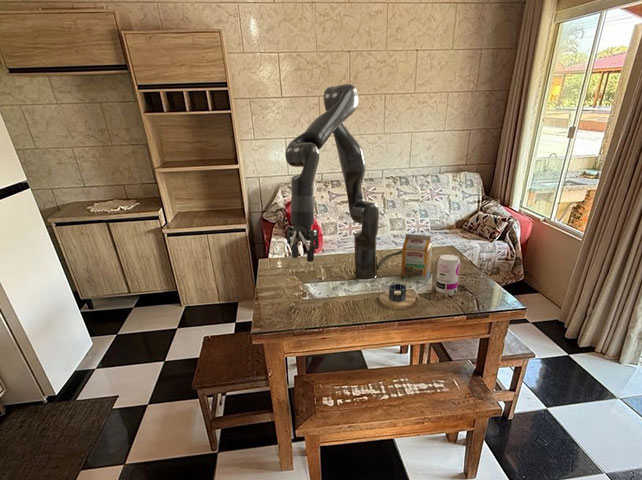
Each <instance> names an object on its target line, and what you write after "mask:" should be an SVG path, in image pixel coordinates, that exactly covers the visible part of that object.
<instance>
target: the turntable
mask: <svg viewBox="0 0 642 480" xmlns="http://www.w3.org/2000/svg"><path fill="white" fill-rule="evenodd" d="M378 299H379V302H380V303H382V304H384V305H385V306H390V307H406V306H410V305H412V304H414V303H415V302H416V296H415V295H414V294H413V293H410V292H408V291H406V299H405V300H404V301H401V302H394V301H391V300H390V299H389V291H386V292H384V293H382V294H380V295H379V298H378Z"/></svg>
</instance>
